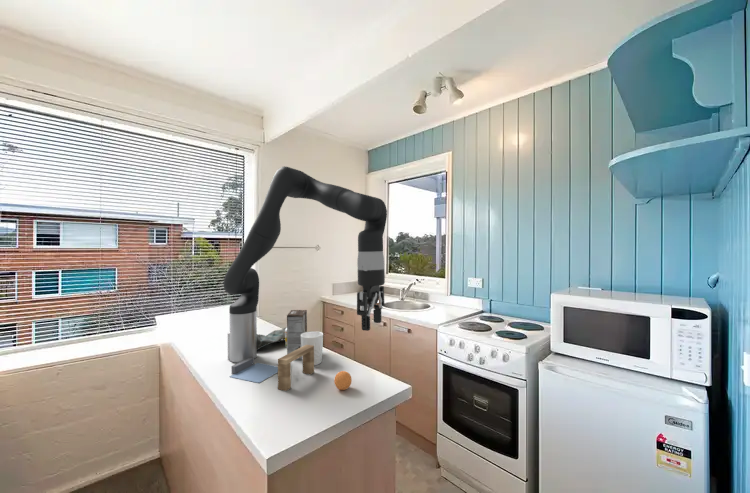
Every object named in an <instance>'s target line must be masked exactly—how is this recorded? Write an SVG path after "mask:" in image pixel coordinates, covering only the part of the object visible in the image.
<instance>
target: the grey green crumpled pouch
mask: <svg viewBox="0 0 750 493" xmlns="http://www.w3.org/2000/svg"><path fill="white" fill-rule="evenodd" d="M286 328H287V326H286V327H283V328H282V329H277V330H273V331H271V332H270V333H268V334H266V335H264V334H258V333H257V351H258V350H260V349H261V348H263V347H265V346H267V345H270V344H272V343H276V342H277V343H279V342H281V341H282V340H285V329H286Z"/></svg>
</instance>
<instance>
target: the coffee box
mask: <svg viewBox="0 0 750 493" xmlns="http://www.w3.org/2000/svg"><path fill="white" fill-rule="evenodd" d="M307 312H308V310H307V309H291V310H290V311H289V312H288V313H287V314H286V327H287V347H286V355H287V354H289V353H291V352H293V351H295V350H297V349H299V348H301V334H302V333H305V332H308V319H307V318H308V316H307V315H308V313H307ZM298 359H302V356H301V357H299V358H298Z"/></svg>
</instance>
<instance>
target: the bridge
mask: <svg viewBox="0 0 750 493" xmlns="http://www.w3.org/2000/svg"><path fill="white" fill-rule="evenodd" d="M301 356H303V362H302V374H306V375H312V374H313V373H315V365H314V346H313V345H304V346H302V347H301V348H299V349H297V350H295V351H293V352H291V353H289V354H287V353H286V354H285V355H283V356H281V357H279V358H278V359H277V366H278V373H277V390H280V391H283V392H284V391H285V392H288V391H289V390H290V389H292V373H291V372H292V369H291V368H292V366H291V365H292V362H294V361H296V360H298V359H300V358H299V357H301Z"/></svg>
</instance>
